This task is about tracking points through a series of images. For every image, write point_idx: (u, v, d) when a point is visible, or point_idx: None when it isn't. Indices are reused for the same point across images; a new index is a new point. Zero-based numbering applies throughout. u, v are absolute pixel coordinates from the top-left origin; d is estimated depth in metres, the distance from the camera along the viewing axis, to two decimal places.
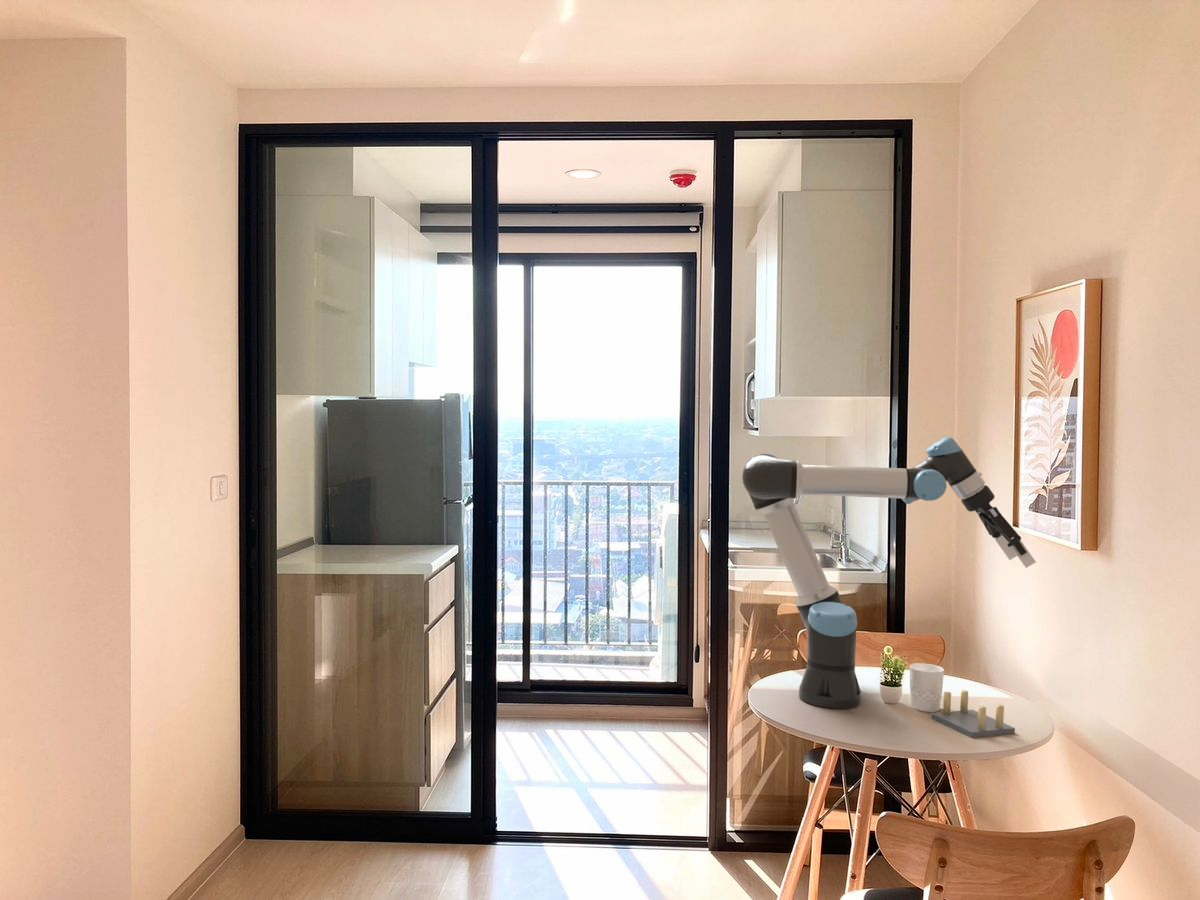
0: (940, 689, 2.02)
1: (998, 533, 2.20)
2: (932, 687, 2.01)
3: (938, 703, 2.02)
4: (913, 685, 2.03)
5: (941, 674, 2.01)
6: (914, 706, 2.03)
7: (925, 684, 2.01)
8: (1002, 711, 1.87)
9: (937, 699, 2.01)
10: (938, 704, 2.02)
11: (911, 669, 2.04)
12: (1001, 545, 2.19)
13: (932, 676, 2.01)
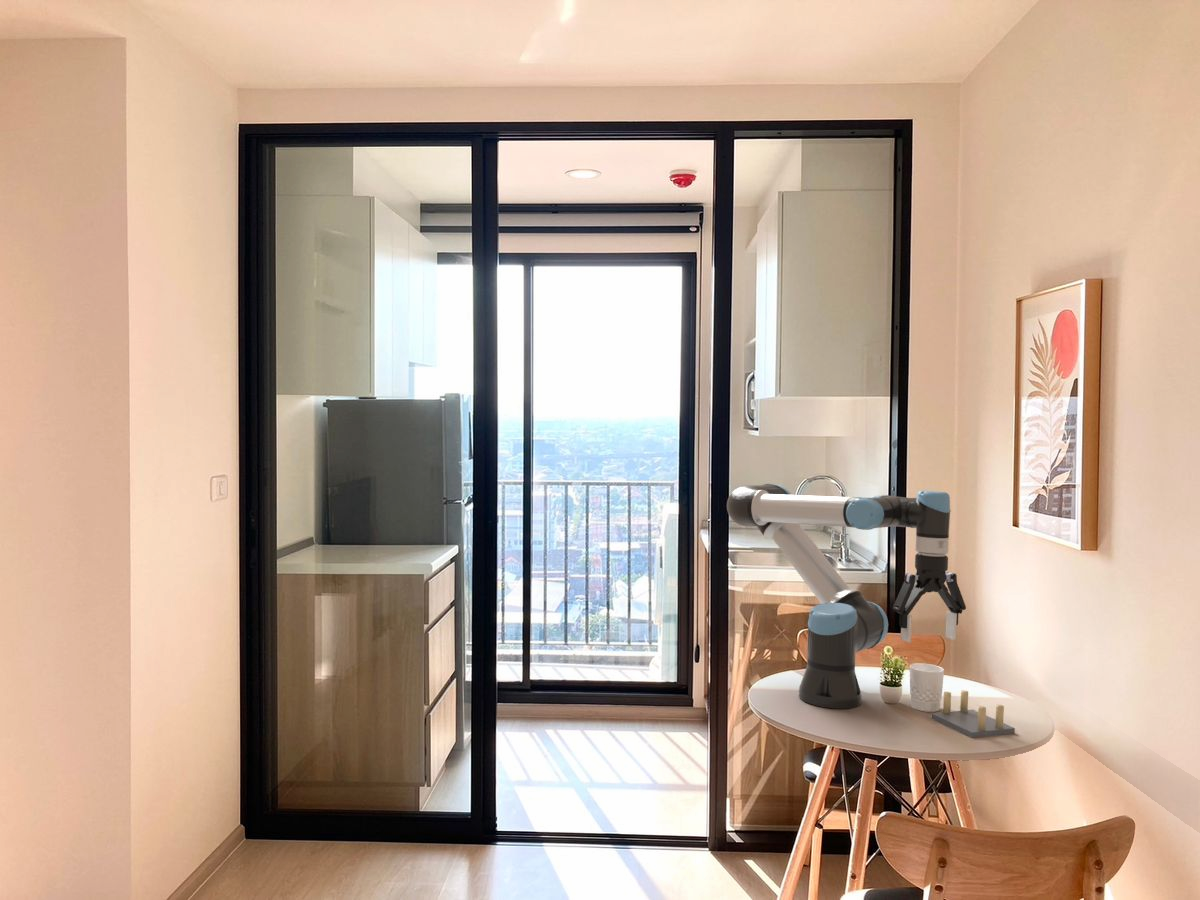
0: (940, 689, 2.02)
1: (953, 609, 2.06)
2: (932, 687, 2.01)
3: (938, 703, 2.02)
4: (913, 685, 2.03)
5: (941, 674, 2.01)
6: (914, 706, 2.03)
7: (925, 684, 2.01)
8: (1002, 711, 1.87)
9: (937, 699, 2.01)
10: (938, 704, 2.02)
11: (911, 669, 2.04)
12: (947, 620, 2.07)
13: (932, 676, 2.01)
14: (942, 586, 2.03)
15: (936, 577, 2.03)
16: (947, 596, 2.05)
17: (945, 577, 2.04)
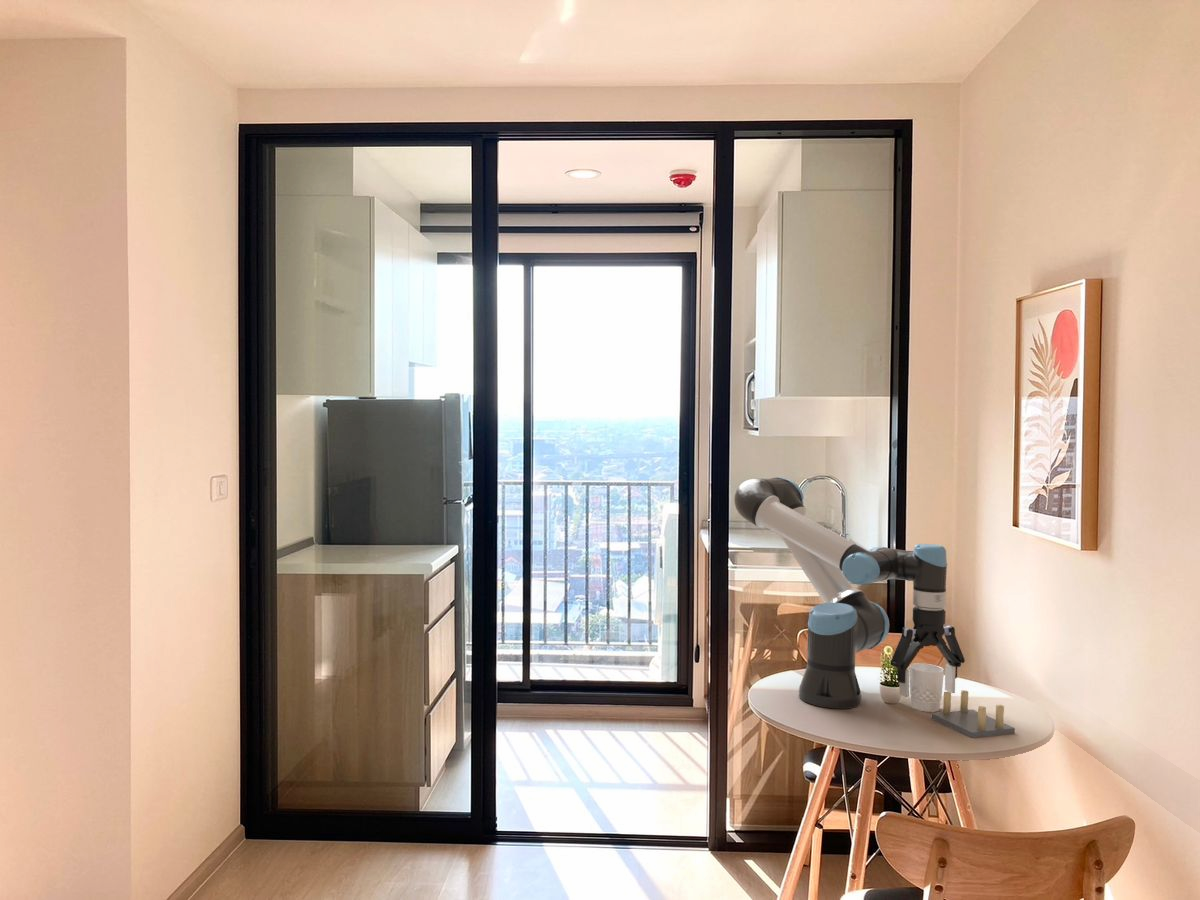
0: (940, 689, 2.02)
1: (952, 662, 2.06)
2: (932, 687, 2.01)
3: (938, 703, 2.02)
4: (913, 685, 2.03)
5: (941, 674, 2.01)
6: (914, 706, 2.03)
7: (925, 684, 2.01)
8: (1002, 711, 1.87)
9: (937, 699, 2.01)
10: (938, 704, 2.02)
11: (911, 669, 2.04)
12: (946, 673, 2.07)
13: (932, 676, 2.01)
14: (940, 640, 2.03)
15: (934, 631, 2.03)
16: (945, 649, 2.04)
17: (943, 631, 2.04)
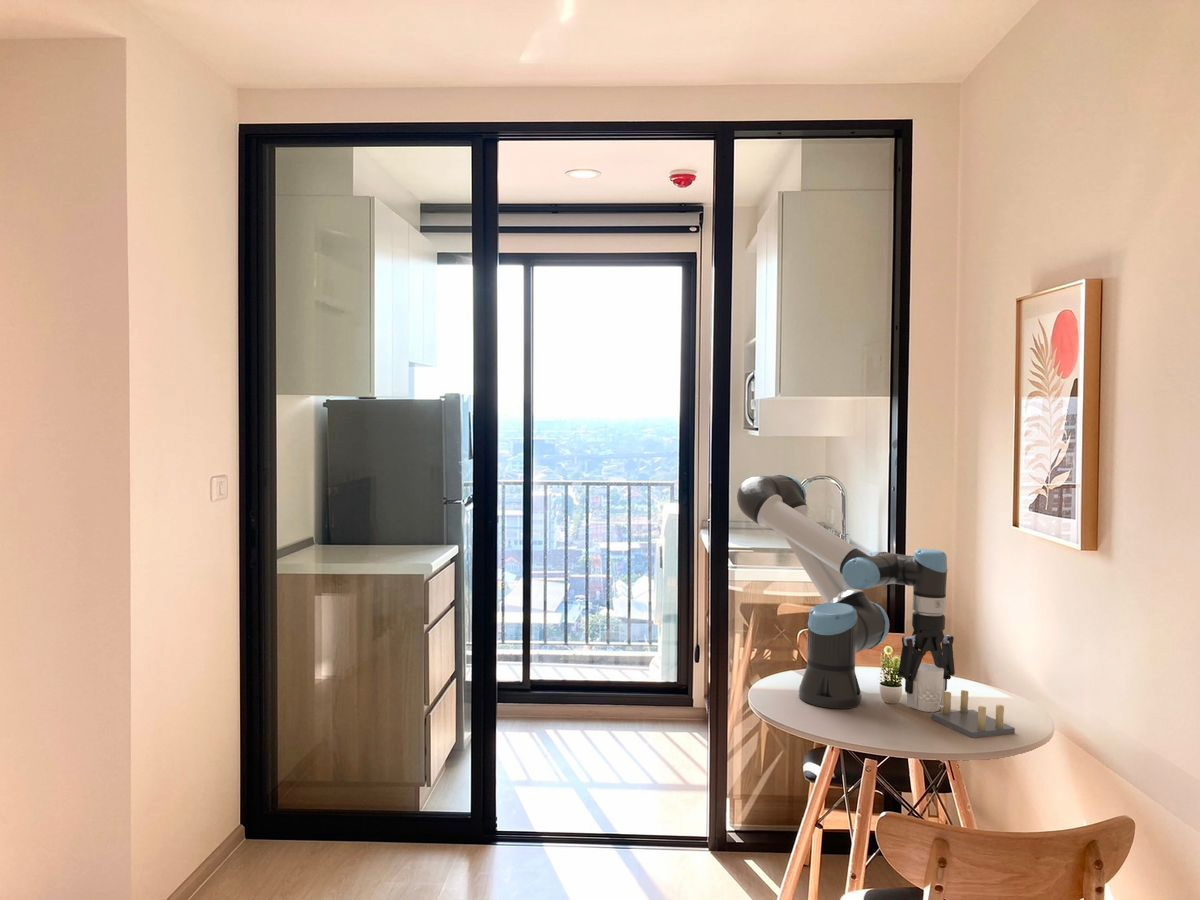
0: (940, 689, 2.02)
1: None
2: (932, 687, 2.01)
3: (938, 703, 2.02)
4: None
5: (941, 674, 2.01)
6: None
7: (925, 684, 2.01)
8: (1002, 711, 1.87)
9: (937, 699, 2.01)
10: (938, 704, 2.02)
11: None
12: None
13: (932, 676, 2.00)
14: (937, 646, 2.03)
15: (934, 633, 2.03)
16: (940, 658, 2.04)
17: (942, 636, 2.04)
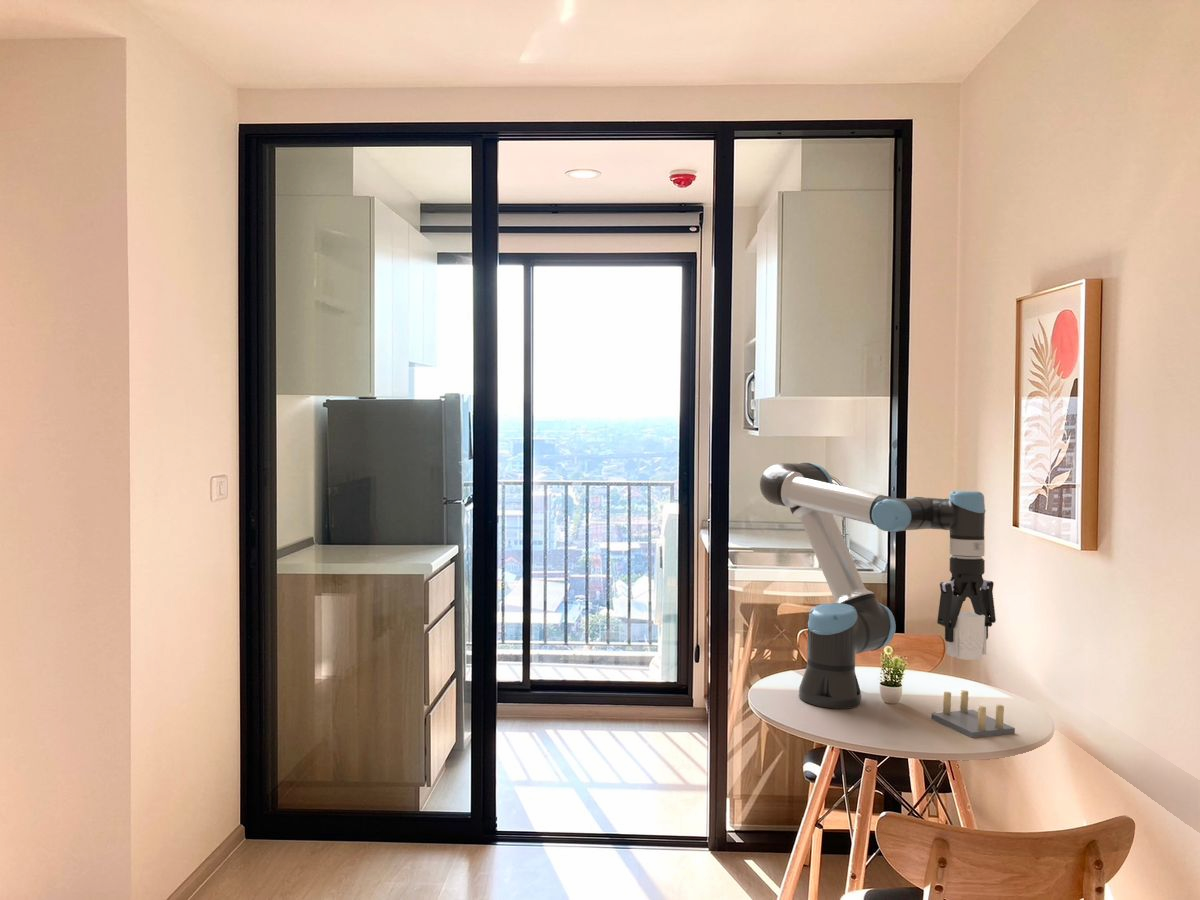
0: (982, 636, 1.92)
1: None
2: (974, 634, 1.91)
3: (980, 651, 1.92)
4: None
5: (983, 620, 1.92)
6: None
7: (966, 631, 1.91)
8: (1002, 711, 1.87)
9: (979, 646, 1.91)
10: (980, 652, 1.92)
11: None
12: None
13: (973, 622, 1.91)
14: (977, 592, 1.94)
15: (973, 578, 1.94)
16: (980, 604, 1.94)
17: (982, 581, 1.95)
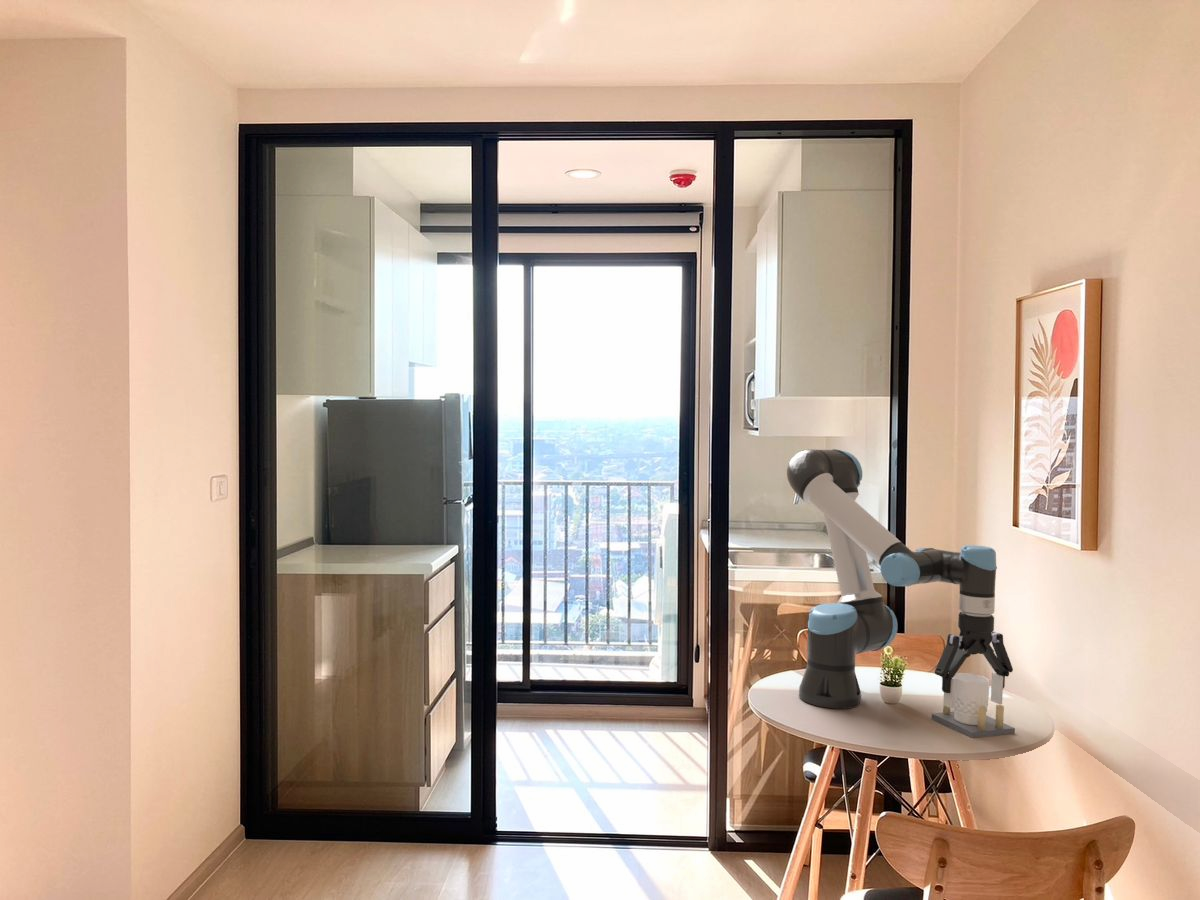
0: (986, 701, 1.89)
1: (999, 671, 1.94)
2: (978, 699, 1.88)
3: None
4: (957, 697, 1.91)
5: (987, 685, 1.89)
6: (958, 719, 1.91)
7: (970, 696, 1.89)
8: (1002, 711, 1.87)
9: None
10: None
11: (954, 679, 1.92)
12: (992, 682, 1.95)
13: (978, 687, 1.88)
14: (988, 648, 1.91)
15: (981, 638, 1.91)
16: (993, 658, 1.92)
17: (991, 638, 1.92)
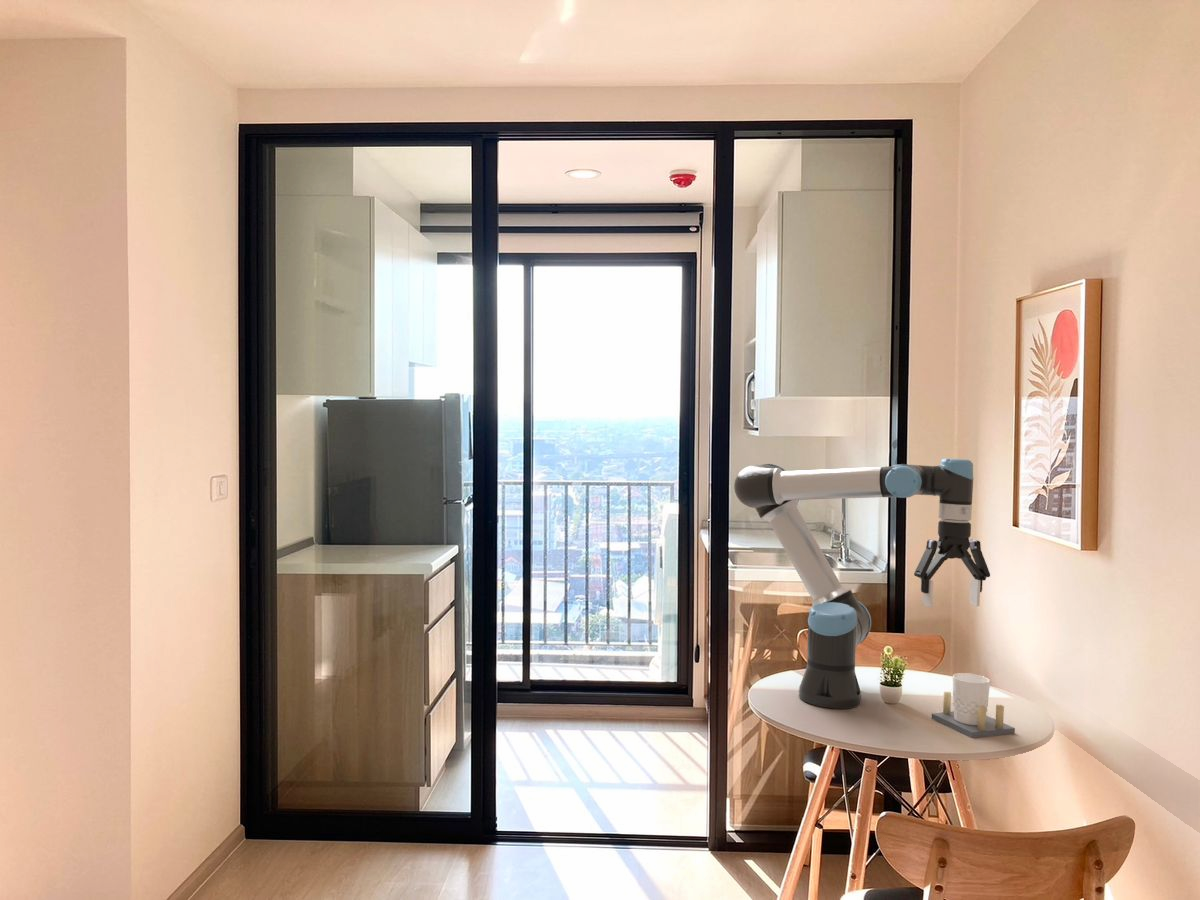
0: (986, 701, 1.89)
1: (977, 576, 2.08)
2: (978, 699, 1.88)
3: None
4: (957, 697, 1.91)
5: (987, 685, 1.89)
6: (958, 719, 1.91)
7: (970, 696, 1.89)
8: (1002, 711, 1.87)
9: None
10: None
11: (955, 679, 1.92)
12: (971, 587, 2.10)
13: (978, 687, 1.88)
14: (965, 553, 2.06)
15: (959, 544, 2.06)
16: (970, 563, 2.07)
17: (968, 544, 2.07)
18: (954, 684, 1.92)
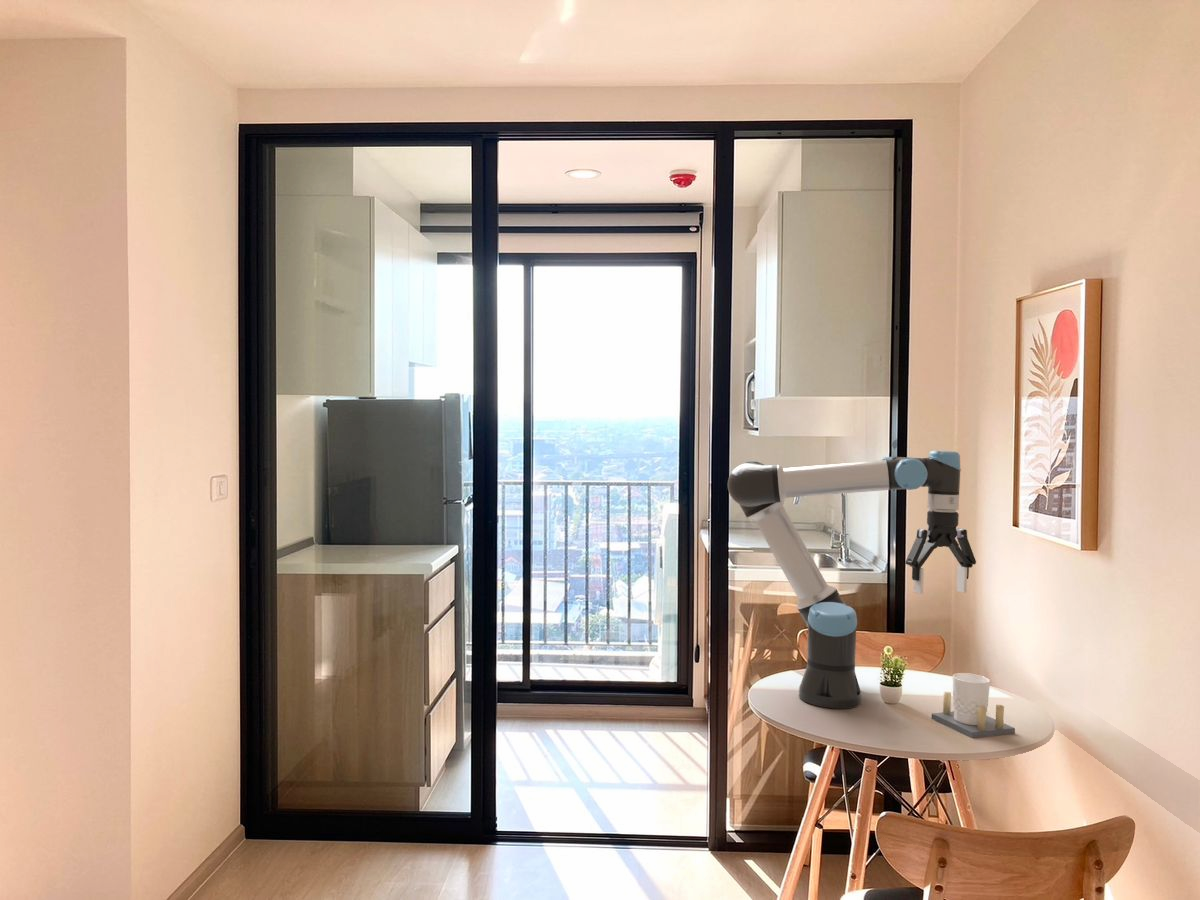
0: (986, 701, 1.89)
1: (964, 564, 2.17)
2: (978, 699, 1.88)
3: None
4: (957, 697, 1.91)
5: (987, 685, 1.89)
6: (958, 719, 1.91)
7: (970, 696, 1.89)
8: (1002, 711, 1.87)
9: None
10: None
11: (955, 679, 1.92)
12: (958, 574, 2.18)
13: (978, 687, 1.88)
14: (953, 541, 2.14)
15: (947, 532, 2.14)
16: (958, 551, 2.15)
17: (956, 533, 2.15)
18: (954, 684, 1.92)
